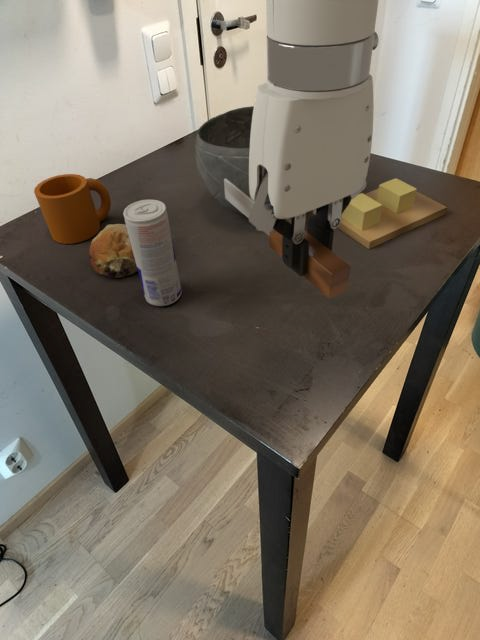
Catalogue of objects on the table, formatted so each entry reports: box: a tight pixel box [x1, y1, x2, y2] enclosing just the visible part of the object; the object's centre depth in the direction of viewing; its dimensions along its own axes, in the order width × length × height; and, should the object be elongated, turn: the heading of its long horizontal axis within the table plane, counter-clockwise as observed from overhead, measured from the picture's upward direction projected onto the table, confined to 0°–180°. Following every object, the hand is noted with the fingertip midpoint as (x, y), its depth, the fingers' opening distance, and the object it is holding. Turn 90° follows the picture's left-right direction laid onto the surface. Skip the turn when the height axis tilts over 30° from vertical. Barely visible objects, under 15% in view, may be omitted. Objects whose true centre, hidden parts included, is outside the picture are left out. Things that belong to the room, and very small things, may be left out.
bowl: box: [194, 105, 274, 216], centre depth 83 cm, size 21×21×15 cm
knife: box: [224, 179, 351, 299], centre depth 49 cm, size 21×2×3 cm, turn 32°
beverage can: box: [122, 199, 183, 307], centre depth 65 cm, size 6×6×15 cm
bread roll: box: [88, 223, 138, 279], centre depth 76 cm, size 10×10×8 cm
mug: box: [33, 173, 112, 245], centre depth 82 cm, size 9×12×9 cm
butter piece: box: [342, 192, 383, 231], centre depth 79 cm, size 4×5×4 cm
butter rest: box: [377, 177, 418, 214], centre depth 82 cm, size 4×5×4 cm
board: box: [336, 188, 448, 250], centre depth 83 cm, size 18×12×2 cm, turn 122°
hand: (306, 262), depth 47 cm, fingers closed on knife, 2 cm apart
